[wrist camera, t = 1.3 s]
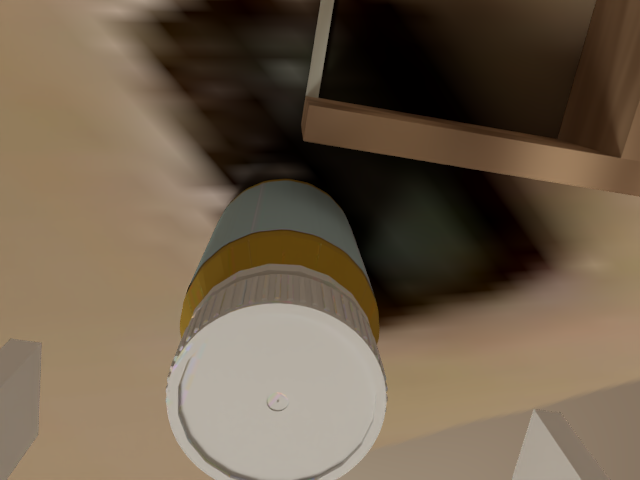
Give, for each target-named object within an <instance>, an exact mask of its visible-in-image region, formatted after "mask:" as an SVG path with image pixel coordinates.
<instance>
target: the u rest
mask: <svg viewBox="0 0 640 480" xmlns="http://www.w3.org/2000/svg"><path fill="white" fill-rule="evenodd" d="M333 5H334V0H321V2H320V8H319V15H318V21H317V27H316V34H315V40H314V46H313V53H312V59H311V65H310V72H309V78H308V84H307V90H306V97H305V103H304V109H303V116H302V122H301V128H302V135H303V141H306V142H312V143H318V144H324V145H331V146H337V147H343V148H349V149H355V150H361V151H367V152H373V153H379V154H385V155H391V156H397V157H403V158H409V159H415V160H421V161H428V162H434V163H440V164H446V165H452V166H458V167H464V168H470V169H476V170H482V171H488V172H494V173H500V174H506V175H512V176H518V177H525V178H531V179H537V180H543V181H549V182H555V183H561V184H567V185H573V186H579V187H585V188H591V189H597V190H603V191H609V192H615V193H622V194H628V195H634V196H640V0H597V1H596V4H595V8H594V12H593V15H592V19H591V22H590V26H589V29H588V33H587V36H586V40H585V43H584V47H583V50H582V54H581V57H580V61H579V64H578V68H577V71H576V75H575V79H574V82H573V86H572V89H571V93H570V96H569V100H568V103H567V107H566V110H565V114H564V117H563V121H562V124H561V128H560V131H559V135H558V139H555V138H549V137H543V136H537V135H532V134H526V133H520V132H514V131H508V130H502V129H497V128H491V127H485V126H479V125H473V124H468V123H462V122H456V121H450V120H444V119H439V118H433V117H427V116H421V115H415V114H410V113H404V112H398V111H392V110H386V109H380V108H375V107H369V106H363V105H357V104H351V103H346V102H340V101H334V100H328V99H322V98H318V96H319V90H320V84H321V78H322V72H323V66H324V60H325V54H326V48H327V42H328V36H329V30H330V23H331V17H332V11H333Z"/></svg>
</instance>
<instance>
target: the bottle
mask: <svg viewBox="0 0 640 480" xmlns="http://www.w3.org/2000/svg"><path fill="white" fill-rule="evenodd" d="M180 333H181V342H180V344H179V347H178V349H177V352H176V354H175V357H174V359H173V362H172V364H171V367H170V372H169V375H168V378H167V382H168V384H167V387H166V393H167V397H166V403H167V413H168V418H169V422H170V426H171V429H172V431H173V434H174V436H175V438H176V440H177V442H178V444H179V445H180V447H181V448H182V450H183V451H184V453H185V454H186V455H187V456H188V458H189V459H190V460H191V461H192V462H193V463H194V464H195V465H196V466H197V467H198V468H200V469H201V470H202V471H203V472H205V473H206V474H207V475H209V476H210V477H212V478H213V479H215V480H336V479H338V478H339V477H341V476H343V475H344V474H345V473H347V472H348V471H350V470H351V469H352V468H353V467H354V466H355V465H357V464H358V463H359V462H360V460H361V459H363V457H364V456H365V455H366V454H367V452H368V451H369V450H370V448H371V447H372V445H373V444H374V442H375V440H376V438H377V436H378V434H379V432H380V430H381V427H382V424H383V420H384V416H385V412H386V402H387V394H386V392H387V384H386V376H385V372H384V368H383V365H382V361H381V358H380V354H379V351H378V348H377V342H378V339H379V317H378V308H377V304H376V300H375V296H374V293H373V290H372V287H371V284H370V281H369V278H368V276H367V273H366V270H365V267H364V264H363V261H362V258H361V255H360V253H359V250H358V247H357V244H356V241H355V238H354V235H353V232H352V230H351V227H350V225H349V223H348V220H347V218H346V216H345V214H344V212H343V210H342V209H341V207H340V206H339V205H338V204H337V203H336V202H335V201H334V200H333V199H332V197H331V196H330V195H328V194H327V193H326V192H324V191H322V190H321V189H319V188H317V187H315V186H314V185H312V184H309V183H307V182H302V181H298V180H293V179H276V180H267V181H264V182H261V183H259V184H256V185H254V186H252V187H249V188H247V189H246V190H244V191H243V192H242V193H240V194H239V195H238V196H237V197H236V198H235V199H234V200H233V201H231V203H230V204H229V205H228V206H227V208H226V209H225V211H224V213H223V214H222V216H221V218H220V220H219V221H218V223H217V226H216V228H215V230H214V232H213V234H212V237H211V239H210V241H209V243H208V245H207V248H206V250H205V252H204V254H203V256H202V259H201V261H200V263H199V265H198V268H197V270H196V272H195V274H194V276H193V279H192V281H191V283H190V285H189V287H188V290H187V293H186V297H185V299H184V303H183V309H182V314H181V320H180Z"/></svg>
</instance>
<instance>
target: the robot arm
mask: <svg viewBox="0 0 640 480" xmlns="http://www.w3.org/2000/svg"><path fill="white" fill-rule="evenodd" d="M41 347H42V343H40V342H32V341H25V340H17V339H10V340H9V341H8V342H7V343H6V344H5V345H4V346H3V347H2V348H1V349H0V480H7V478H8V477H9V476H10V474H11V473H12V471H13V470H14V468H15V467H16V466H17V464H18V463H19V461H20V460H21V458H22V457H23V456H24V454H25V453H26V451H27V450H28V449H29V447H30V446H31V444H32V443H33V441H34V440H35V439H36V437H37V436H38V424H39V398H40V373H41ZM512 480H610V479H609V477H608V476H607V474H606V473H605V472H604V470H603V469H602V468H601V466H600V465H599V464H598V462H597V461H596V460H595V458H594V457H593V456H592V454H591V453H590V452H589V450H588V449H587V447H586V446H585V445H584V443H583V442H582V441H581V439H580V438H579V437H578V435H577V434H576V433H575V431H574V430H573V429H572V427H571V426H570V425H569V423H568V422H567V421H566V419H565V418H564V416H563V415H562V414H561V413H560V412H552V411H546V410H538V409H534V410H533V413H532V416H531V420H530V423H529V426H528V429H527V432H526V436H525V439H524V442H523V445H522V448H521V452H520V455H519V458H518V461H517V464H516V468H515V471H514V474H513V477H512Z"/></svg>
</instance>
